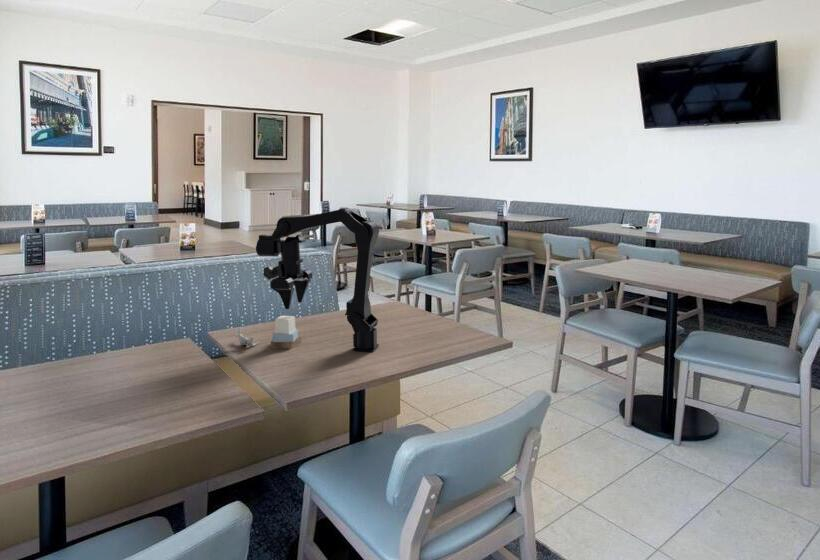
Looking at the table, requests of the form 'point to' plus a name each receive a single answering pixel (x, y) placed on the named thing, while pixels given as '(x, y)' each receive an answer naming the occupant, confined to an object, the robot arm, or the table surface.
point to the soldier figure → (245, 339)
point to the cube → (285, 324)
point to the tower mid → (285, 336)
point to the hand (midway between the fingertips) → (293, 305)
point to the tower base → (286, 343)
